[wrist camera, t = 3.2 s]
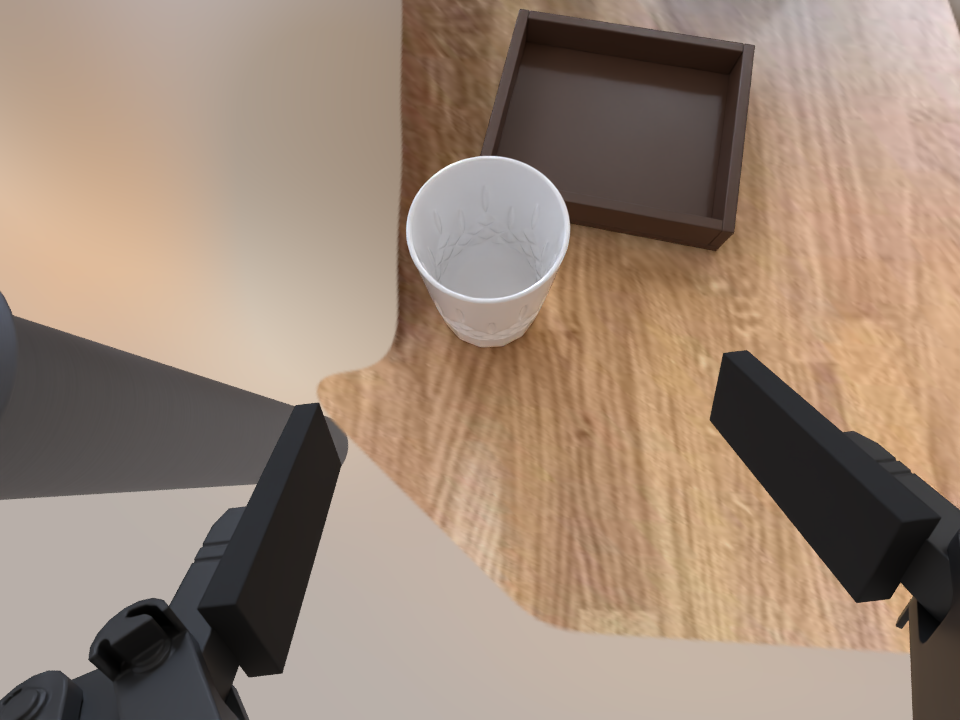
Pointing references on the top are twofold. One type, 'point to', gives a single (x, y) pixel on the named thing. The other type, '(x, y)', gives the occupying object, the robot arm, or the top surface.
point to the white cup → (488, 245)
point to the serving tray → (627, 124)
